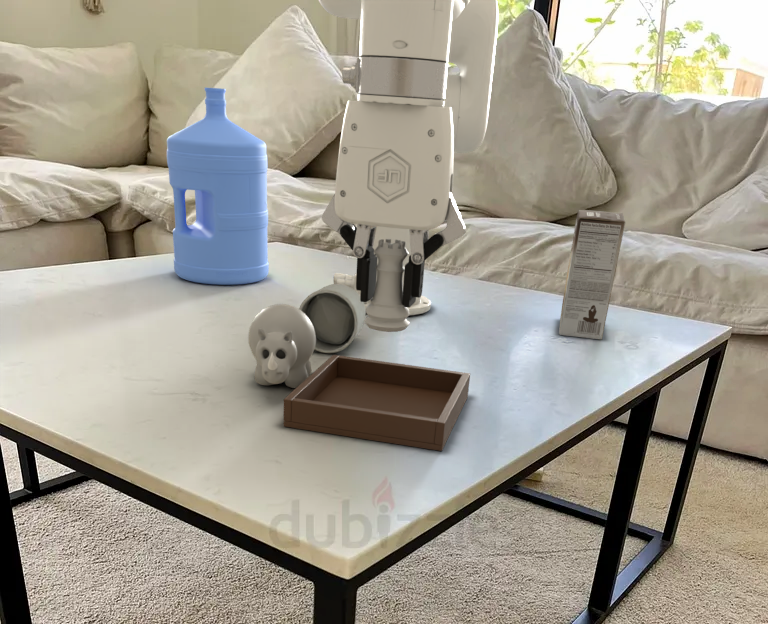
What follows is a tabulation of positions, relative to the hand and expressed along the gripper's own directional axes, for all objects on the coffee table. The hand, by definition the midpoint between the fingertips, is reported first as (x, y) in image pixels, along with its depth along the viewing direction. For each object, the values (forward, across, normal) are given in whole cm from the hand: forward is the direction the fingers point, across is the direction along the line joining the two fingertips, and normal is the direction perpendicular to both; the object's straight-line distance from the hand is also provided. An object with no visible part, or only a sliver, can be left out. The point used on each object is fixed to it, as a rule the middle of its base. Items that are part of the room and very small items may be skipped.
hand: (388, 299), depth 75 cm
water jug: (+12, -41, +51) cm, 66 cm away
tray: (+11, 0, 0) cm, 11 cm away
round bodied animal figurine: (+12, -12, +2) cm, 17 cm away
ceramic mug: (+12, -13, +20) cm, 26 cm away
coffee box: (+12, +19, +44) cm, 49 cm away
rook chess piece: (+3, 0, 0) cm, 3 cm away
